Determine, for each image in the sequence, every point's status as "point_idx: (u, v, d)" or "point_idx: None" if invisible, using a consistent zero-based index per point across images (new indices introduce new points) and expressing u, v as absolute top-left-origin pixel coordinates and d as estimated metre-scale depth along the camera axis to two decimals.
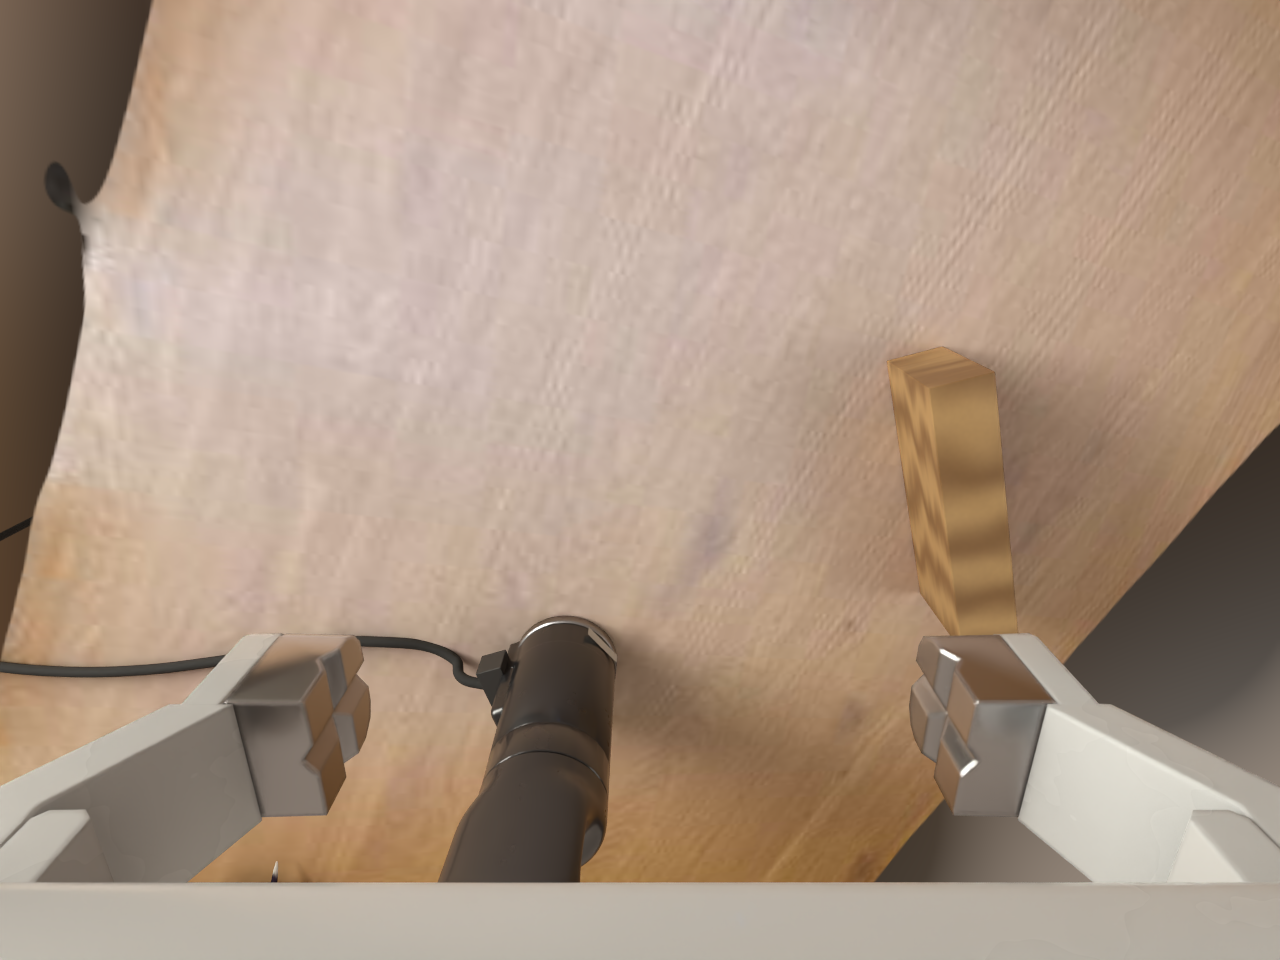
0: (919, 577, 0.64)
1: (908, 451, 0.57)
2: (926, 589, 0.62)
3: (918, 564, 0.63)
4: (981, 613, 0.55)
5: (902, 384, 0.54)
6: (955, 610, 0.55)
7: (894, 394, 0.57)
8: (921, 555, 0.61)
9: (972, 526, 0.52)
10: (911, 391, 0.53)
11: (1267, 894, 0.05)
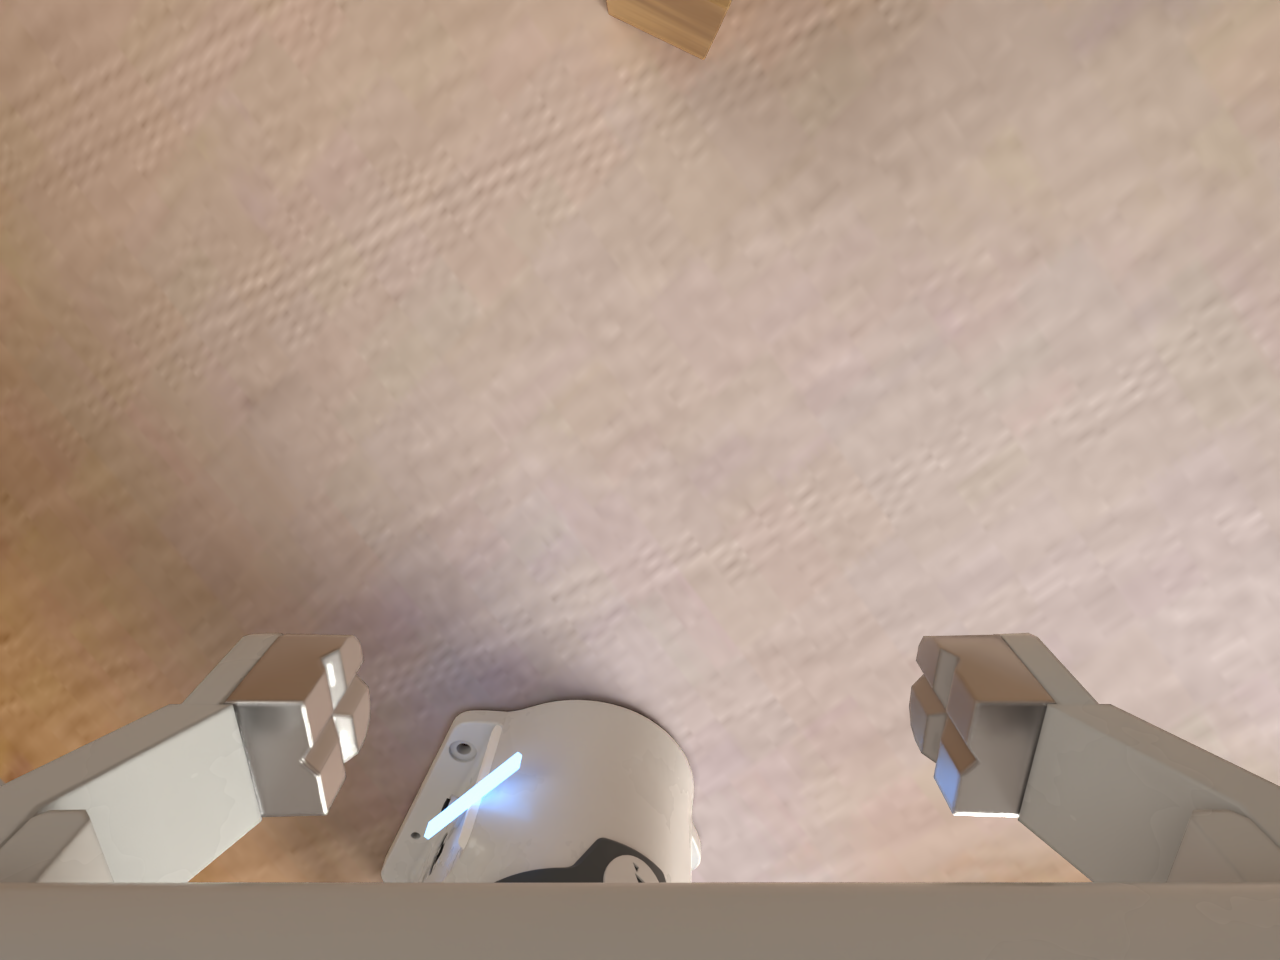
0: None
1: None
2: None
3: None
4: None
5: None
6: None
7: None
8: None
9: None
10: None
11: (1267, 894, 0.05)
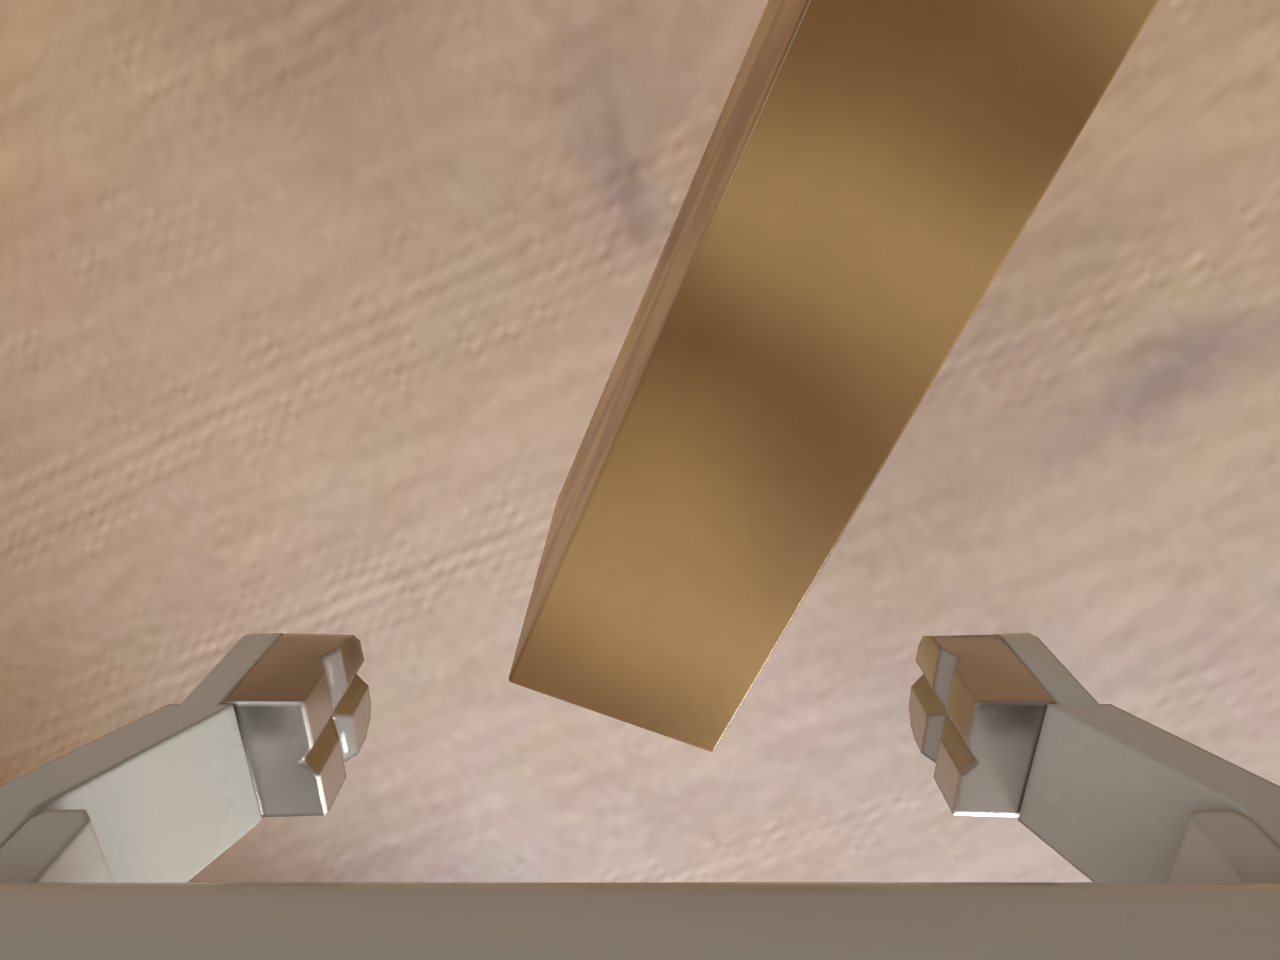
0: None
1: None
2: None
3: None
4: None
5: None
6: None
7: None
8: None
9: (927, 165, 0.11)
10: None
11: (1267, 894, 0.05)
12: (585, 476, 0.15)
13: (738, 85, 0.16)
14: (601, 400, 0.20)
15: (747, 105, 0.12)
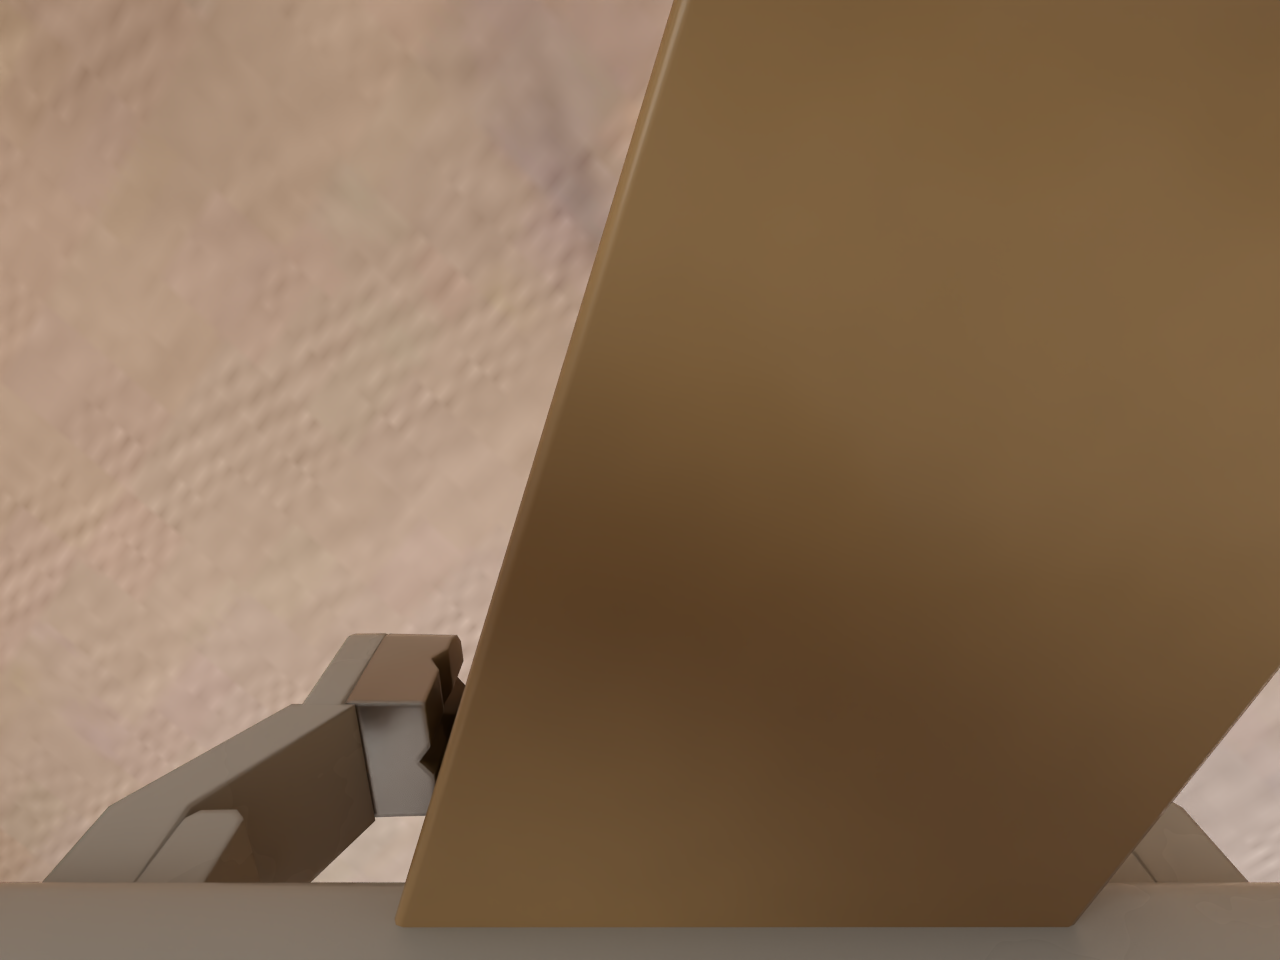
0: None
1: None
2: None
3: None
4: None
5: None
6: None
7: None
8: None
9: None
10: None
11: (1267, 894, 0.05)
12: None
13: None
14: None
15: None
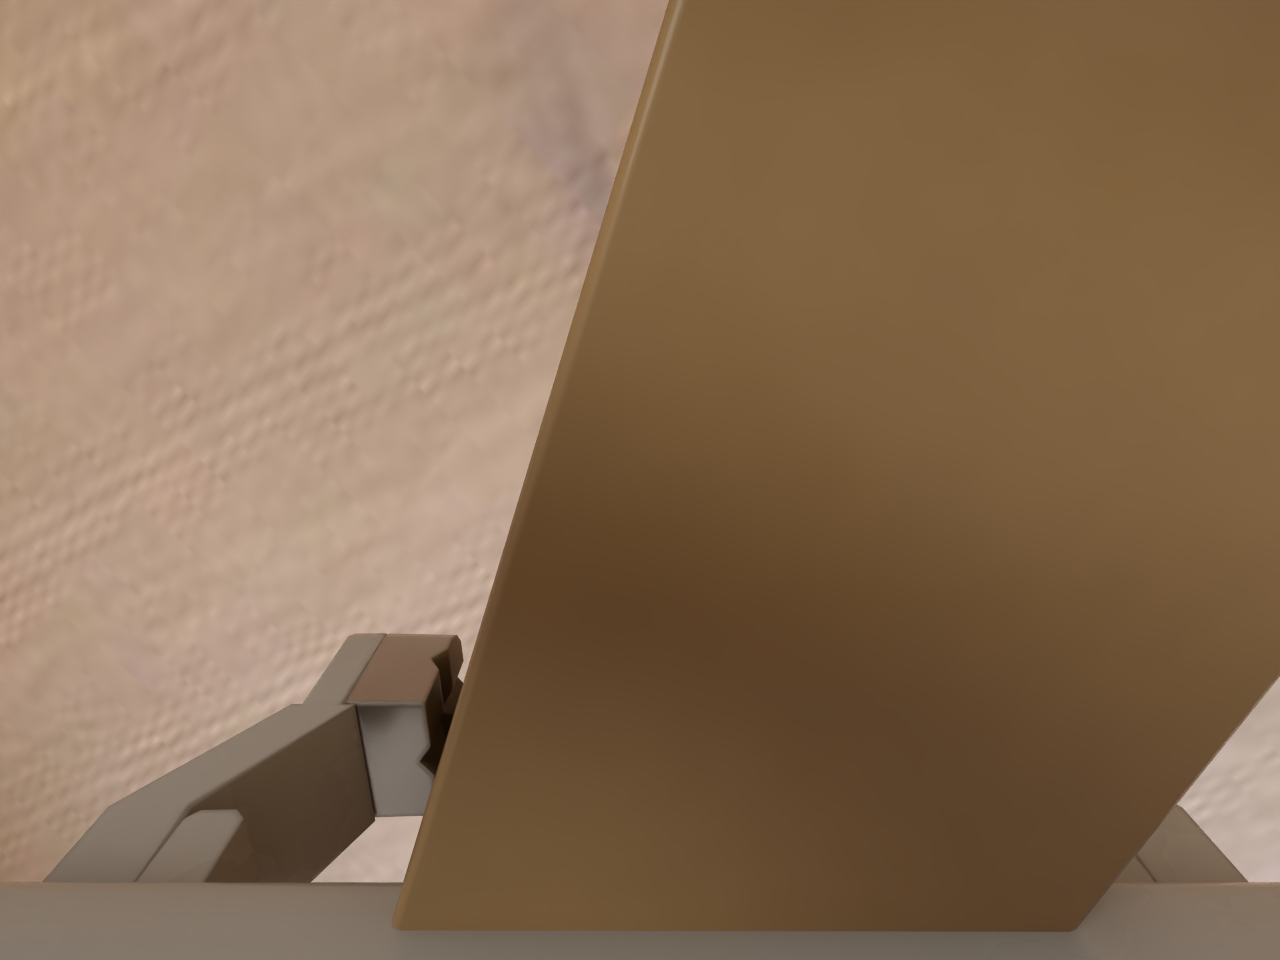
0: None
1: None
2: None
3: None
4: None
5: None
6: None
7: None
8: None
9: None
10: None
11: (1267, 894, 0.05)
12: None
13: None
14: None
15: None
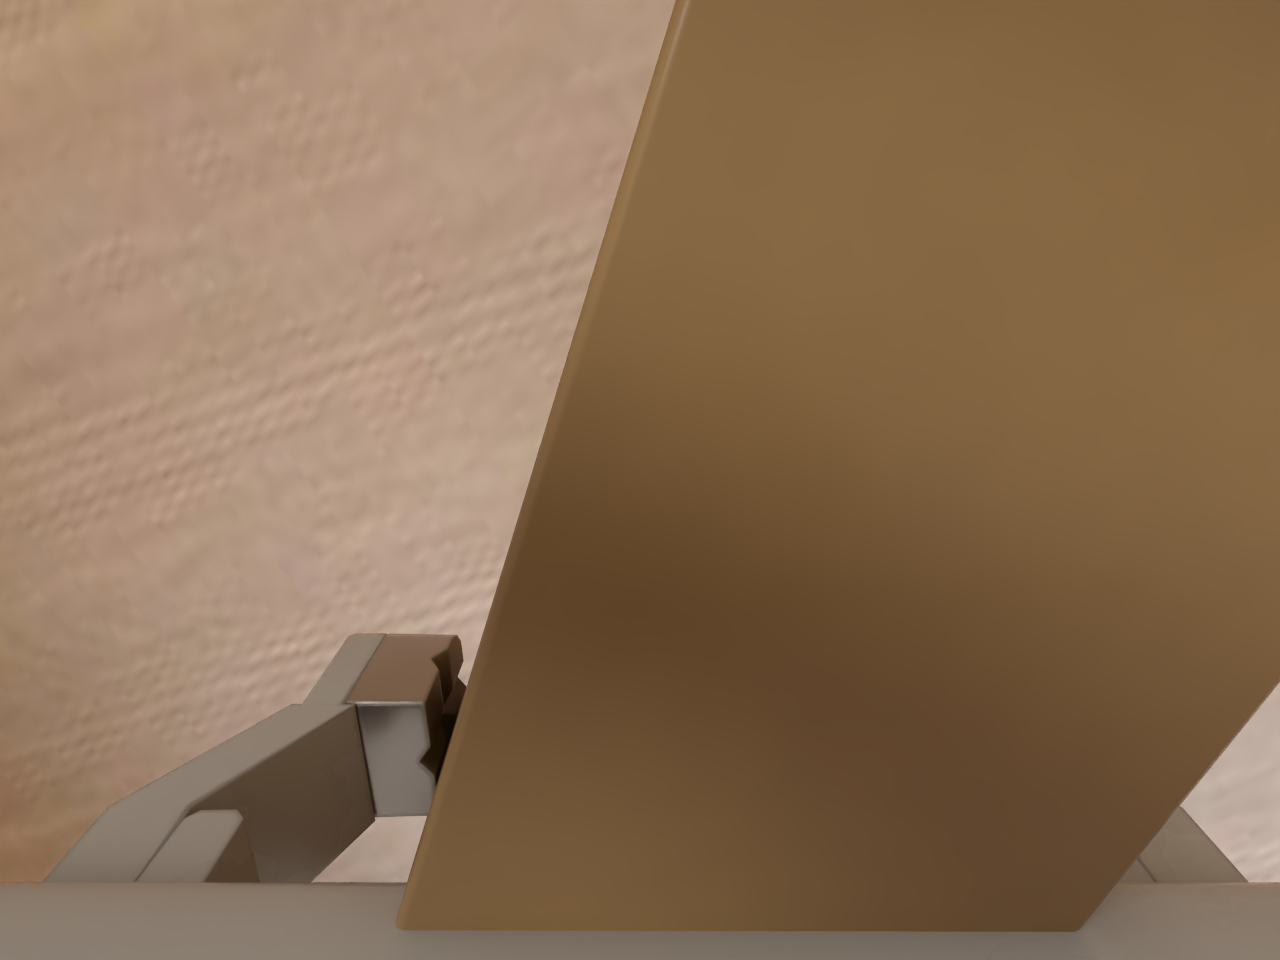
0: None
1: None
2: None
3: None
4: None
5: None
6: None
7: None
8: None
9: None
10: None
11: (1267, 894, 0.05)
12: None
13: None
14: None
15: None
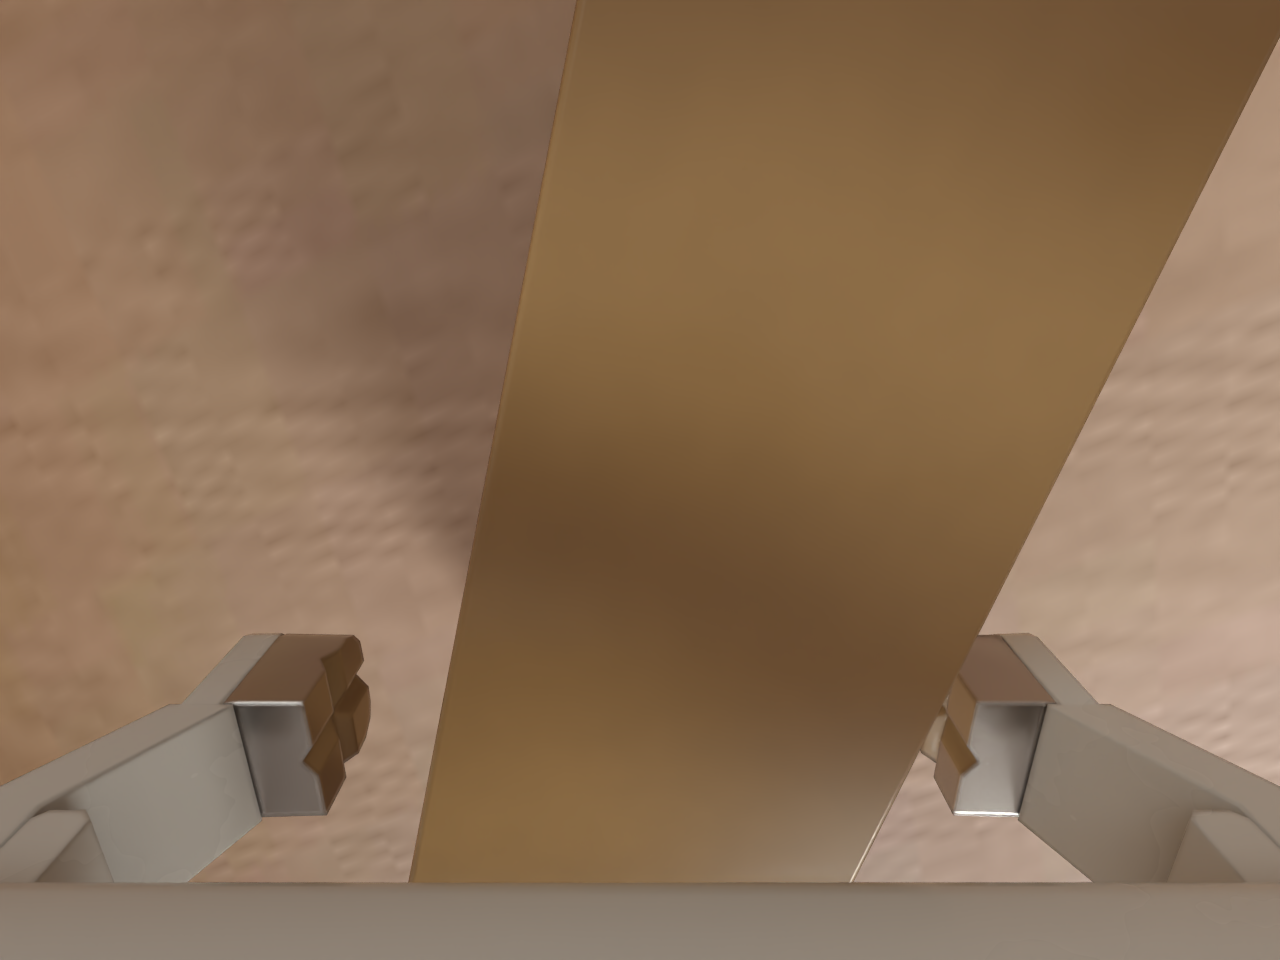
0: None
1: None
2: None
3: None
4: None
5: None
6: None
7: None
8: None
9: (955, 128, 0.05)
10: None
11: (1267, 894, 0.05)
12: None
13: None
14: None
15: None
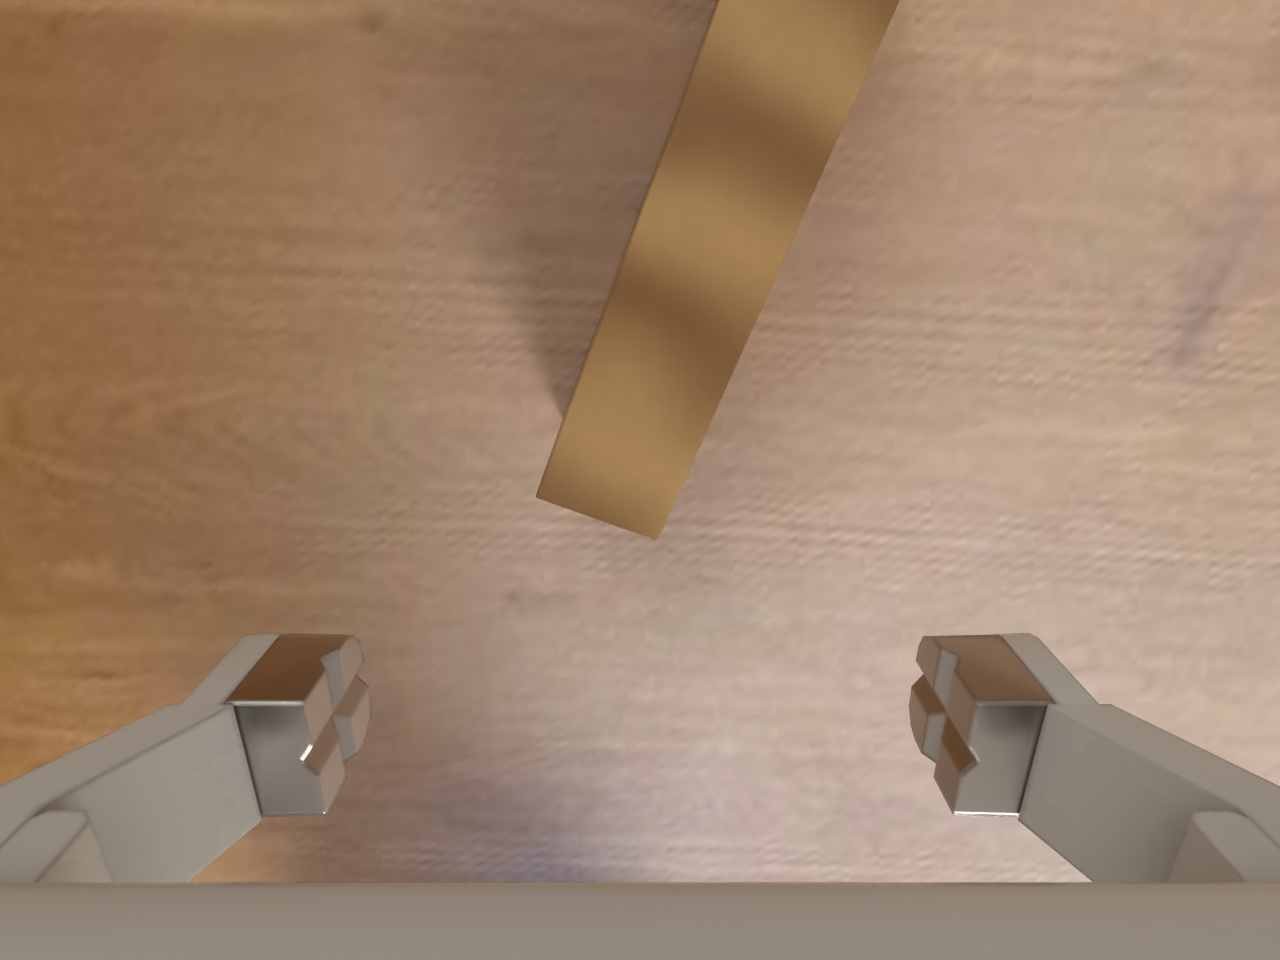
0: None
1: None
2: None
3: None
4: None
5: None
6: None
7: None
8: None
9: (743, 196, 0.21)
10: None
11: (1267, 894, 0.05)
12: None
13: None
14: None
15: None
